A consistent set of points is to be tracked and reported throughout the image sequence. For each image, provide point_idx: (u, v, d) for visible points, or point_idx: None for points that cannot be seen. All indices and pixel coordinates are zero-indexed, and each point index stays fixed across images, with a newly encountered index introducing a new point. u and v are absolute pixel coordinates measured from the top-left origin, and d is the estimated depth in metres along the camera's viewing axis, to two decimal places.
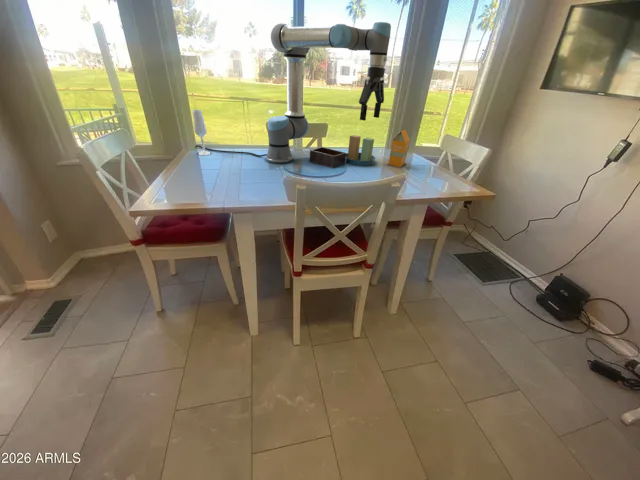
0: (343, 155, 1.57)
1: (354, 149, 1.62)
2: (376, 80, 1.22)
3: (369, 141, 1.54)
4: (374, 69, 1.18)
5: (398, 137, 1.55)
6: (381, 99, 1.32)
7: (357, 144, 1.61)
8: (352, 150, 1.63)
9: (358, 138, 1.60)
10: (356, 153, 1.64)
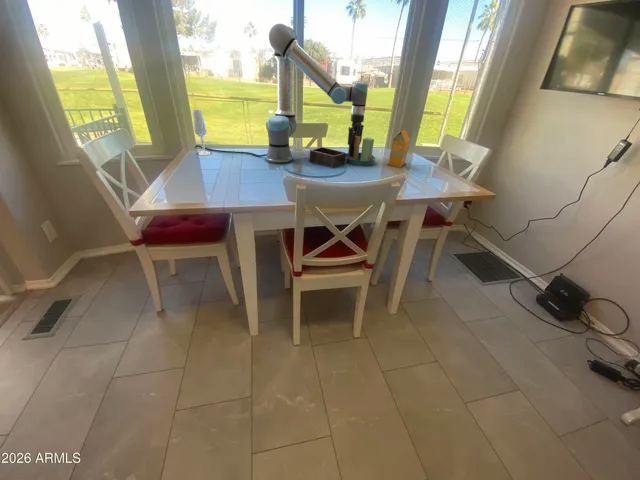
0: (343, 155, 1.57)
1: (354, 149, 1.62)
2: (357, 124, 1.56)
3: (369, 141, 1.54)
4: (355, 116, 1.52)
5: (398, 137, 1.55)
6: None
7: (357, 144, 1.61)
8: None
9: (358, 138, 1.60)
10: (356, 153, 1.64)
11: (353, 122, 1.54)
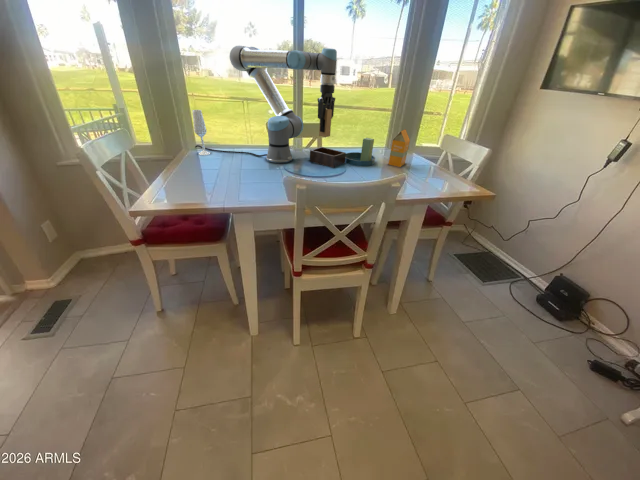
0: (343, 155, 1.57)
1: (325, 123, 1.51)
2: (328, 95, 1.45)
3: (369, 141, 1.54)
4: (324, 86, 1.40)
5: (398, 137, 1.55)
6: None
7: (328, 117, 1.49)
8: None
9: (329, 111, 1.48)
10: (328, 128, 1.53)
11: (322, 93, 1.42)
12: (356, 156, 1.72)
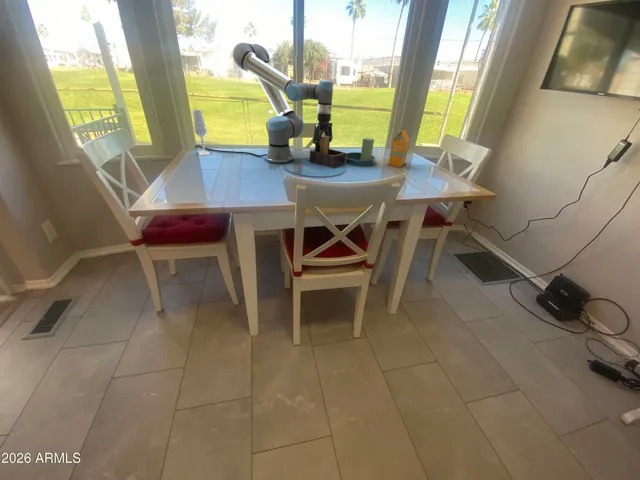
0: (343, 155, 1.57)
1: (322, 149, 1.58)
2: (324, 123, 1.52)
3: (369, 141, 1.54)
4: (321, 115, 1.48)
5: (398, 137, 1.55)
6: (329, 138, 1.61)
7: (325, 143, 1.57)
8: (321, 150, 1.59)
9: (326, 138, 1.55)
10: (325, 153, 1.60)
11: (319, 121, 1.50)
12: (356, 156, 1.72)
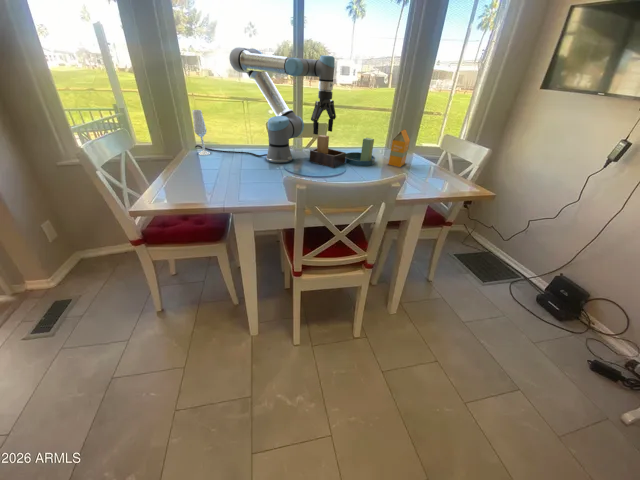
0: (343, 155, 1.57)
1: (322, 149, 1.58)
2: (325, 101, 1.46)
3: (369, 141, 1.54)
4: (322, 93, 1.42)
5: (398, 137, 1.55)
6: (333, 116, 1.55)
7: (325, 143, 1.57)
8: (321, 150, 1.59)
9: (326, 138, 1.55)
10: (325, 153, 1.60)
11: (320, 99, 1.44)
12: (356, 156, 1.72)
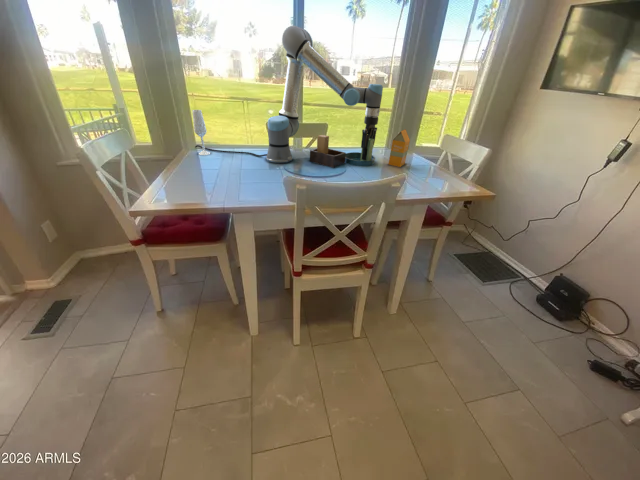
0: (343, 155, 1.57)
1: (322, 149, 1.58)
2: (371, 126, 1.51)
3: (369, 141, 1.54)
4: (369, 119, 1.47)
5: (398, 137, 1.55)
6: None
7: (325, 143, 1.57)
8: (321, 150, 1.59)
9: (326, 138, 1.55)
10: (325, 153, 1.60)
11: (367, 124, 1.49)
12: (356, 156, 1.72)
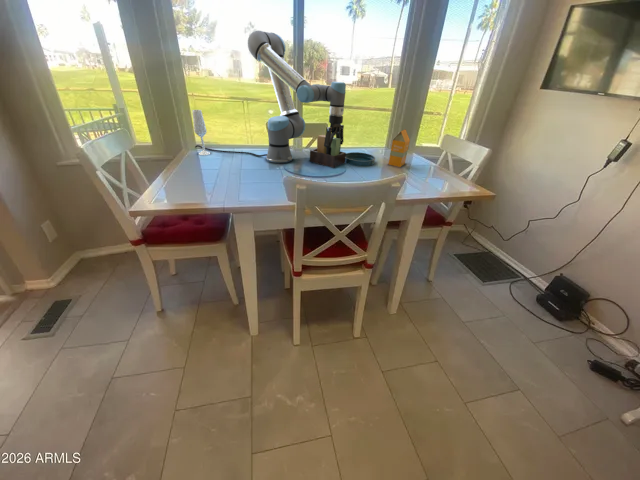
0: (343, 155, 1.57)
1: (322, 149, 1.58)
2: (336, 125, 1.48)
3: (335, 141, 1.51)
4: (333, 117, 1.44)
5: (398, 137, 1.55)
6: (341, 141, 1.57)
7: None
8: (321, 150, 1.59)
9: None
10: (325, 153, 1.60)
11: (331, 123, 1.46)
12: (356, 156, 1.72)
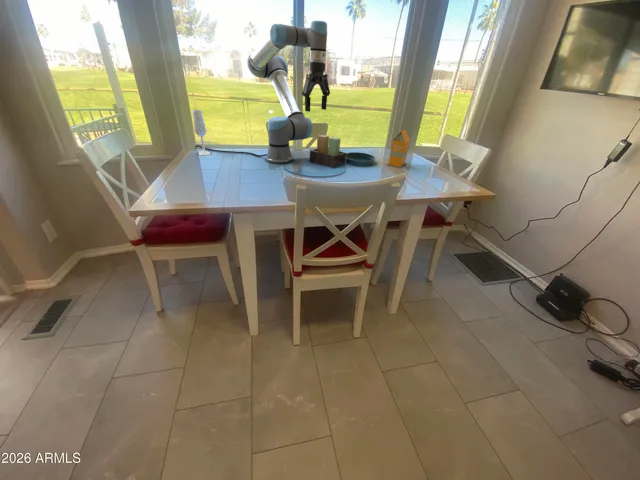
0: (343, 155, 1.57)
1: (322, 149, 1.58)
2: (318, 74, 1.33)
3: (335, 141, 1.51)
4: (314, 64, 1.28)
5: (398, 137, 1.55)
6: (326, 92, 1.42)
7: (325, 143, 1.57)
8: (321, 150, 1.59)
9: (326, 138, 1.55)
10: (325, 153, 1.60)
11: (312, 71, 1.30)
12: (356, 156, 1.72)
